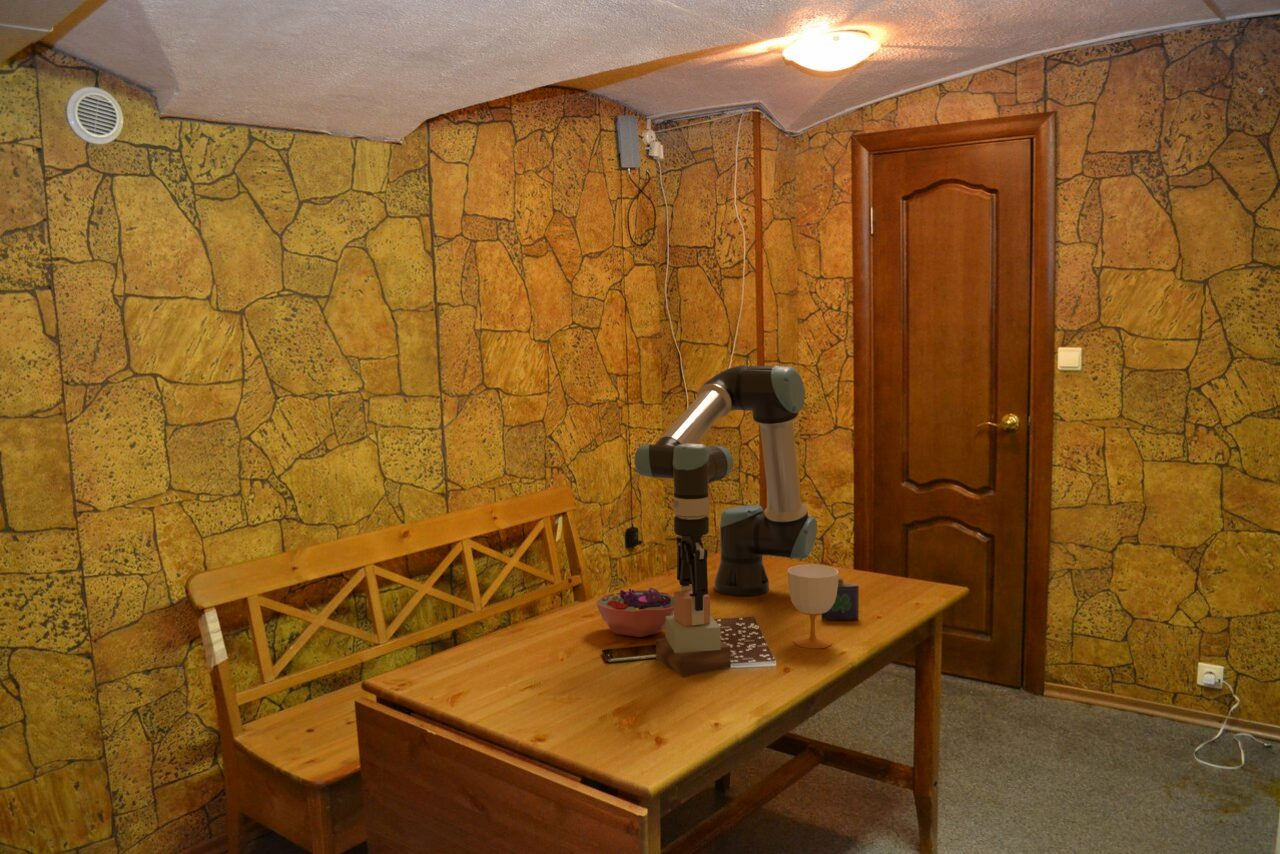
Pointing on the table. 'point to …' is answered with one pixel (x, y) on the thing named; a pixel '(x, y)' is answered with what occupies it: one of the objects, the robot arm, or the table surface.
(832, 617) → the flask
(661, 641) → the tower base
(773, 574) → the table surface
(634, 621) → the cell model
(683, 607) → the block
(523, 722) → the table surface
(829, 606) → the cup
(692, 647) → the tower top
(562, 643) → the table surface
